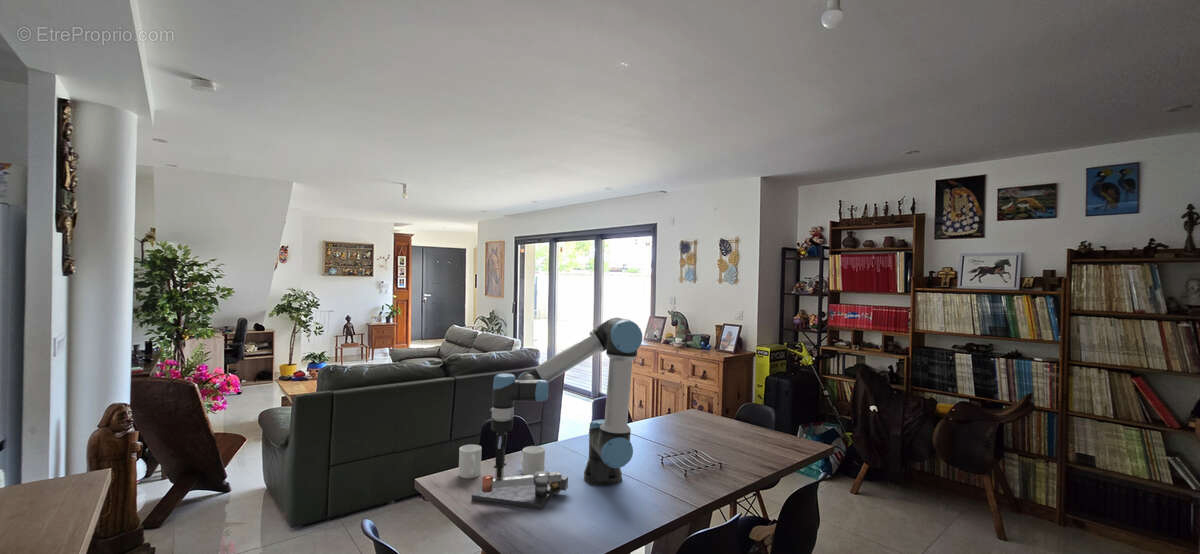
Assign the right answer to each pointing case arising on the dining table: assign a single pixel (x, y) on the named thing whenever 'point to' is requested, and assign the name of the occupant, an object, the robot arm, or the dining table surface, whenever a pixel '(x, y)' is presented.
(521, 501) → the press base
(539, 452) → the mug
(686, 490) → the dining table surface
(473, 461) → the mug
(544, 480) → the lever
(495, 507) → the dining table surface
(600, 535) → the dining table surface
